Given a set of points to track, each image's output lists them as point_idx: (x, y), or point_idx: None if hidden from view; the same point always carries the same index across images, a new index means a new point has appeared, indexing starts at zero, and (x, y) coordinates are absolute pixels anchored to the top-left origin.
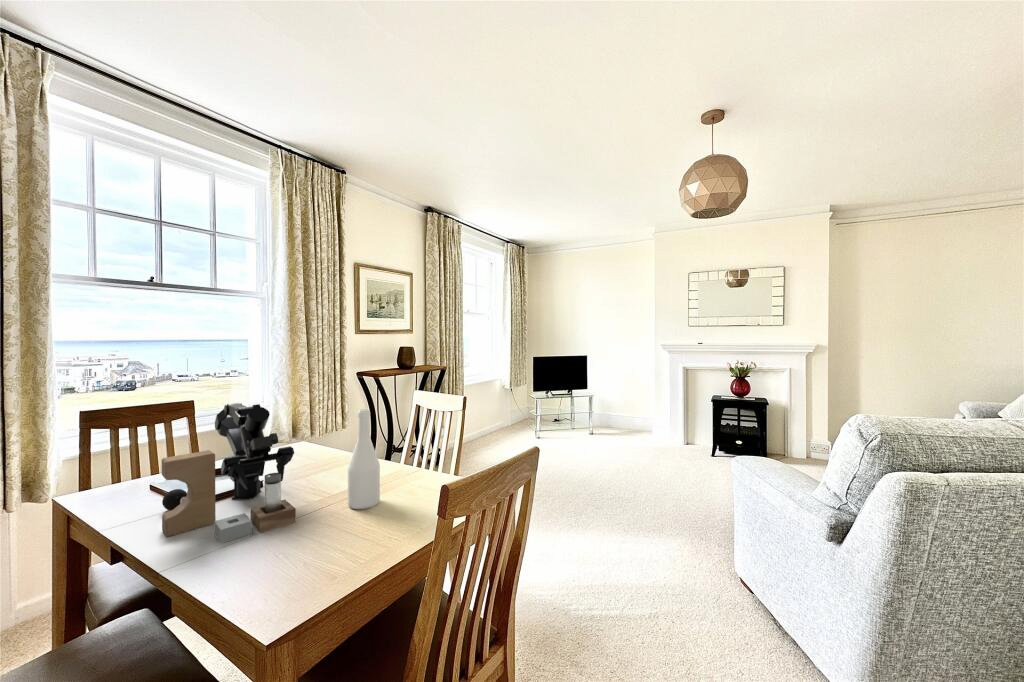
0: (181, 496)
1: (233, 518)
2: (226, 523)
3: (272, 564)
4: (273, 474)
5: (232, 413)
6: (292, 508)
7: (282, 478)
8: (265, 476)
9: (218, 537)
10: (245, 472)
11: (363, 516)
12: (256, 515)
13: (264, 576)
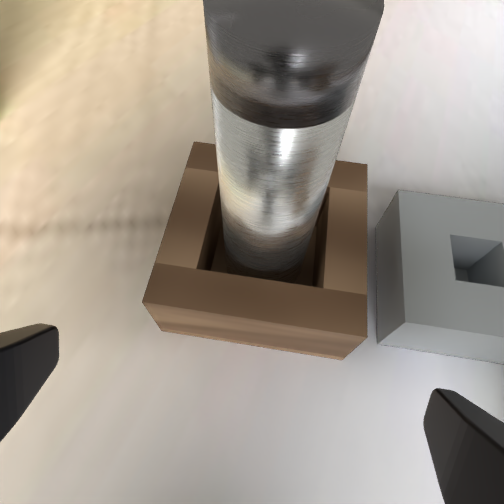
0: None
1: (474, 291)
2: None
3: (382, 34)
4: (277, 3)
5: None
6: (204, 148)
7: (36, 324)
8: (375, 7)
9: None
10: None
11: (36, 62)
12: (365, 217)
13: (411, 12)
